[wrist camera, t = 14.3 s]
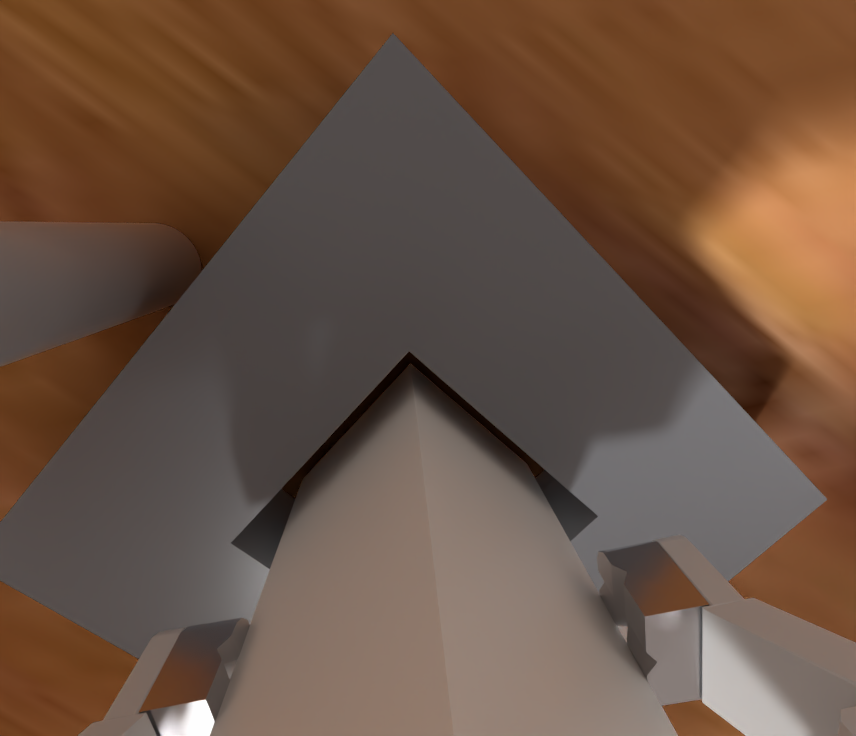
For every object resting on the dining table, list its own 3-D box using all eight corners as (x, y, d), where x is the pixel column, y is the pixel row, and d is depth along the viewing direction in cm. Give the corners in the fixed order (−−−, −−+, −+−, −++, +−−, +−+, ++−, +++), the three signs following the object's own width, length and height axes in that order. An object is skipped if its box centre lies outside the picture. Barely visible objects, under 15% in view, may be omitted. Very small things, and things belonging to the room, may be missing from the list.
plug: (421, 565, 15) (490, 1452, 4) (302, 479, 14) (-24, 1380, 3) (526, 463, 14) (949, 1223, 3) (410, 363, 13) (484, 1014, 2)
